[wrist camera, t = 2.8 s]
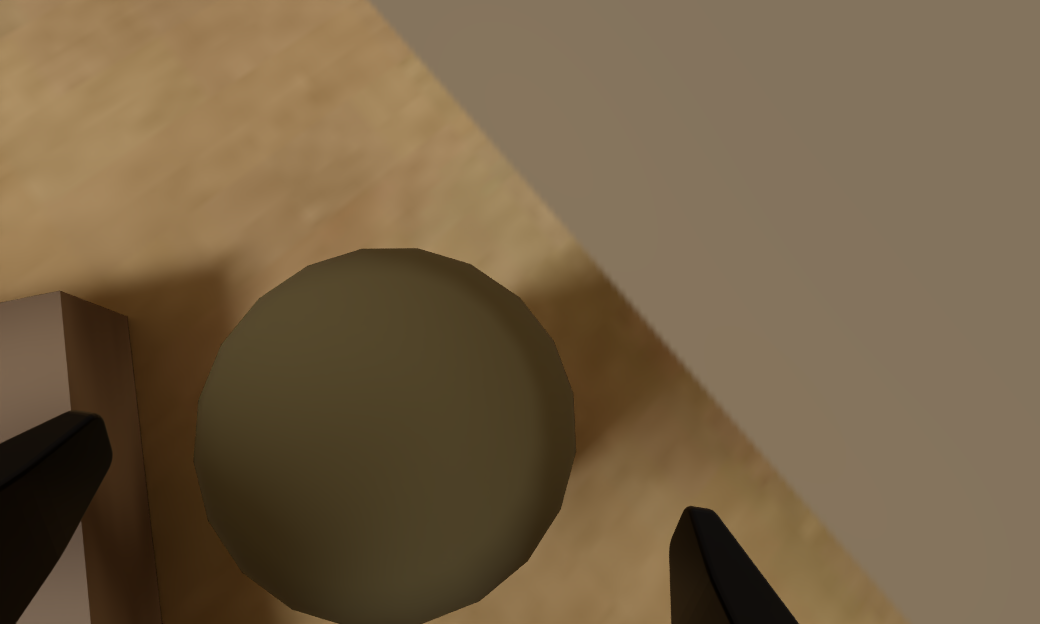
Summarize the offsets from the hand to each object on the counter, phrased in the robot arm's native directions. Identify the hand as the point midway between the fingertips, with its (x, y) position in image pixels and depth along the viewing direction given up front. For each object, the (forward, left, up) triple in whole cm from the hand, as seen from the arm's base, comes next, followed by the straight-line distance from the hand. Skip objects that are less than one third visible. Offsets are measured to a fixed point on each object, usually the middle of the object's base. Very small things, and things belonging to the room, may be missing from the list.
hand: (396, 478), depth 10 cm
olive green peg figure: (+1, 0, -9) cm, 9 cm away
